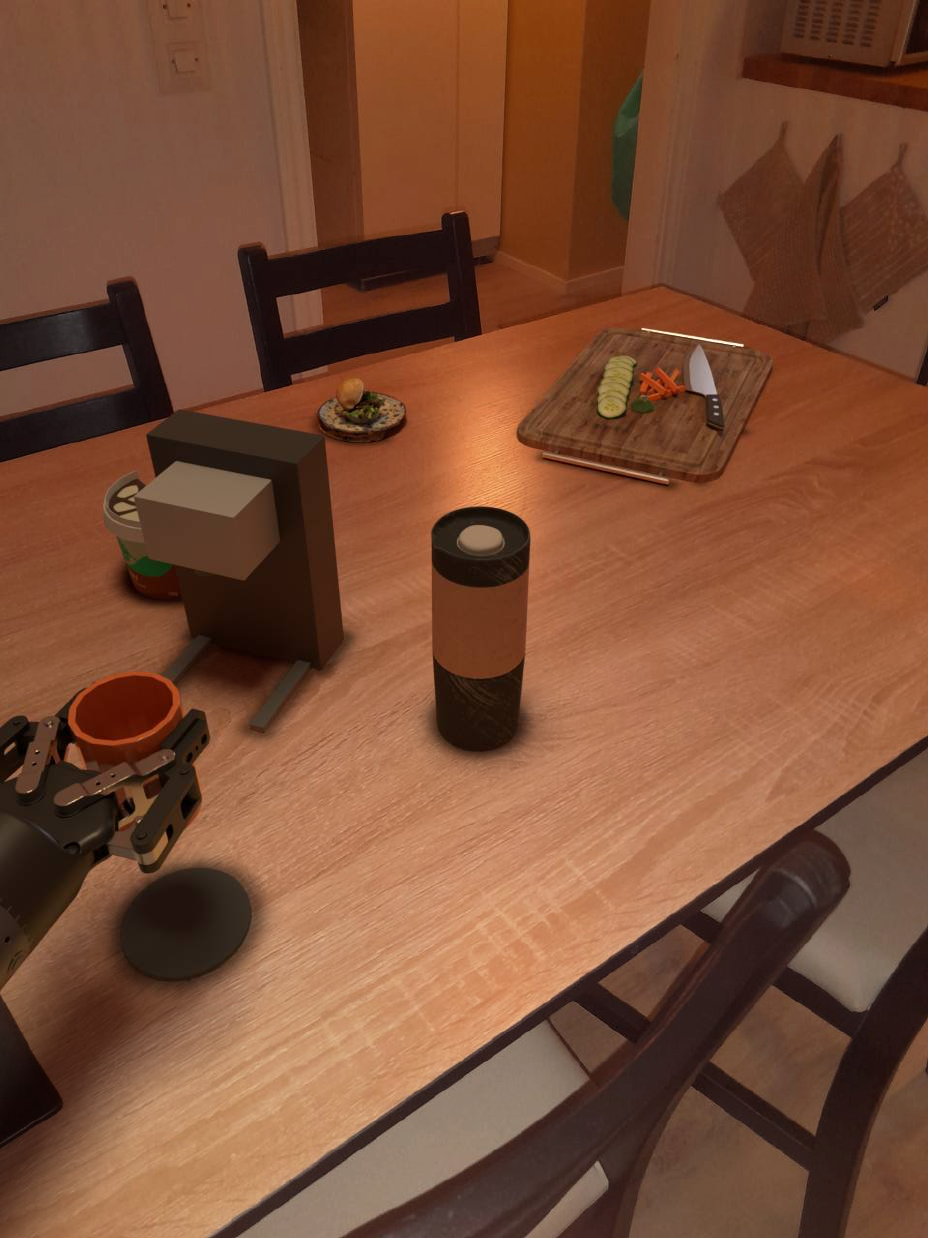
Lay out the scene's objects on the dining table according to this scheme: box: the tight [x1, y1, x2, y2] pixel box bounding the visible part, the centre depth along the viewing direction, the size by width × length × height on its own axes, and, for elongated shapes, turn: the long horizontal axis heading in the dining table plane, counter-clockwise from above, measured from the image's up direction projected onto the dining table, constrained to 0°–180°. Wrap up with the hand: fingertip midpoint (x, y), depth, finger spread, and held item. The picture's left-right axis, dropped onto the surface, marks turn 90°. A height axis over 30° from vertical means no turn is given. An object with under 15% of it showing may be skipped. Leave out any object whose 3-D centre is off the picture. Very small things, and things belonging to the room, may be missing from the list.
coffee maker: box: [134, 408, 345, 734], centre depth 83 cm, size 14×14×22 cm
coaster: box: [119, 867, 252, 982], centre depth 69 cm, size 9×9×1 cm
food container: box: [102, 469, 183, 601], centre depth 97 cm, size 12×6×10 cm, turn 42°
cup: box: [68, 670, 203, 831], centre depth 61 cm, size 6×6×9 cm
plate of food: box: [316, 371, 407, 443], centre depth 127 cm, size 12×12×8 cm
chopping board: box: [516, 326, 774, 486], centre depth 134 cm, size 45×27×3 cm, turn 156°
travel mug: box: [430, 505, 532, 752], centre depth 79 cm, size 8×8×20 cm
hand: (152, 706), depth 61 cm, fingers closed on cup, 6 cm apart
